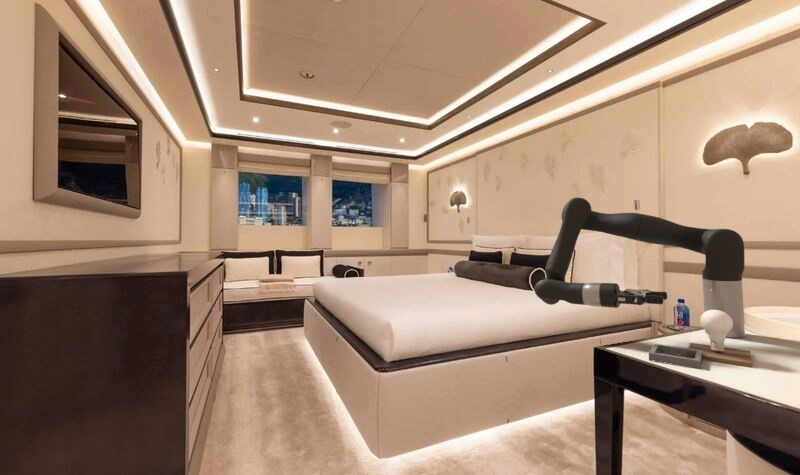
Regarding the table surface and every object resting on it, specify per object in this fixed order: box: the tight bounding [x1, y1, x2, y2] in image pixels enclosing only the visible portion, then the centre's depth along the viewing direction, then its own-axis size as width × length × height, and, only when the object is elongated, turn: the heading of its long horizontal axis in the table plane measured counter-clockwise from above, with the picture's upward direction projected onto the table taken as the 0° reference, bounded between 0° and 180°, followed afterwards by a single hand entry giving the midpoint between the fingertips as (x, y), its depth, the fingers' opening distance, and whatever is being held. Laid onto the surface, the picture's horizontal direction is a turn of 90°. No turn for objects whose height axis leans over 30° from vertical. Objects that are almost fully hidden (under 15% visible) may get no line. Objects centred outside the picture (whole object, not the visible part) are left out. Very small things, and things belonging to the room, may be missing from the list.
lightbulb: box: [699, 310, 733, 352], centre depth 91 cm, size 6×6×11 cm
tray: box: [648, 343, 703, 369], centre depth 90 cm, size 10×10×2 cm
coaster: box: [686, 342, 753, 368], centre depth 91 cm, size 12×12×1 cm
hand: (665, 297), depth 99 cm, fingers open, 8 cm apart
